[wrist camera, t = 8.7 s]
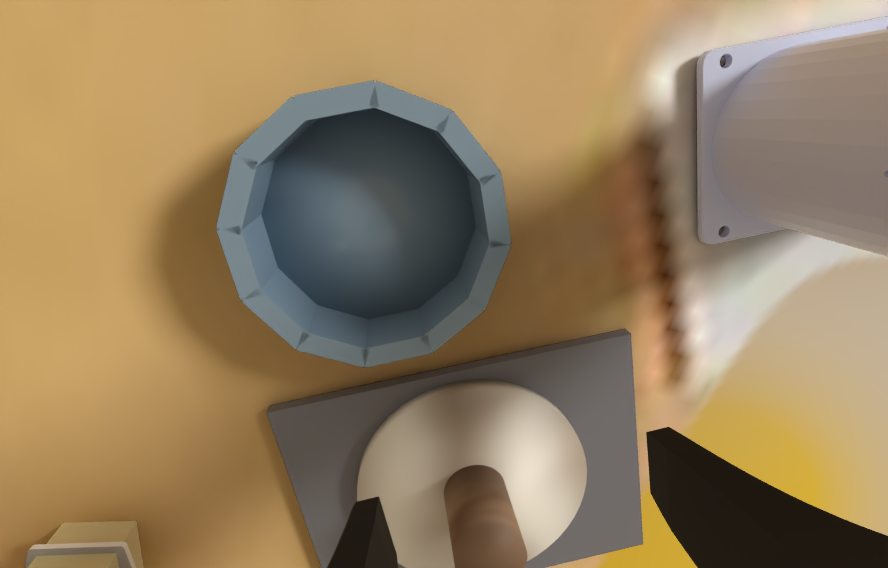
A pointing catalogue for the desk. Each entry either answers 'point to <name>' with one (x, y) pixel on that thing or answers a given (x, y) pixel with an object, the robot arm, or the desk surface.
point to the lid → (474, 475)
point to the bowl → (364, 224)
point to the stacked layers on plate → (89, 546)
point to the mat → (540, 369)
